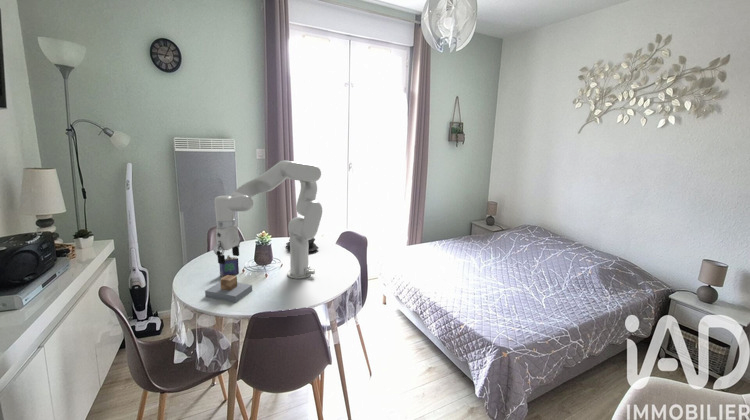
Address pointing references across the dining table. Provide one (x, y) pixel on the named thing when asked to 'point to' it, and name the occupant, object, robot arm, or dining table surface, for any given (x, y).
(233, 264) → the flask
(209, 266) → the dining table surface
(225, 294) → the block
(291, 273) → the robot arm
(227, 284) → the walnut cube
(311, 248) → the casserole
